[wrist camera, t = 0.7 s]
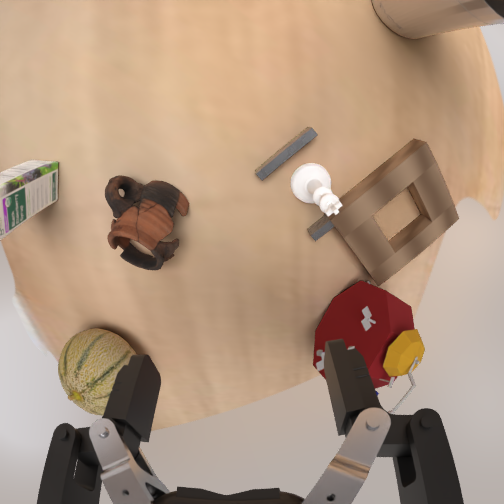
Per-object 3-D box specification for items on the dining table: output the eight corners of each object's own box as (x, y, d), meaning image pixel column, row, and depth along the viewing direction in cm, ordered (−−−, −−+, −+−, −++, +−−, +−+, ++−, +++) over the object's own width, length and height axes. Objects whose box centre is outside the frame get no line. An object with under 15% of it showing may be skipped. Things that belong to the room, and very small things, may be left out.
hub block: (413, 138, 30) (426, 142, 27) (447, 211, 35) (459, 218, 32) (323, 211, 34) (330, 220, 32) (370, 275, 39) (378, 286, 37)
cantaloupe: (142, 377, 49) (126, 440, 36) (76, 348, 46) (49, 407, 32) (159, 333, 43) (138, 409, 30) (80, 297, 40) (39, 364, 26)
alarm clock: (331, 341, 45) (363, 443, 28) (291, 324, 43) (314, 440, 26) (390, 277, 40) (455, 375, 22) (352, 252, 37) (420, 362, 20)
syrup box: (59, 200, 32) (-7, 249, 19) (30, 196, 31) (-35, 239, 18) (59, 161, 29) (-15, 196, 17) (30, 158, 28) (-42, 191, 16)
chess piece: (282, 179, 32) (298, 207, 24) (314, 154, 31) (343, 173, 22) (306, 210, 34) (328, 247, 25) (337, 186, 33) (370, 215, 24)
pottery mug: (209, 217, 35) (185, 272, 30) (161, 230, 40) (137, 277, 35) (147, 144, 27) (105, 196, 23) (106, 172, 32) (70, 219, 28)
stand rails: (307, 126, 29) (312, 127, 28) (359, 196, 34) (366, 201, 32) (255, 170, 32) (255, 173, 30) (311, 234, 36) (315, 241, 34)
